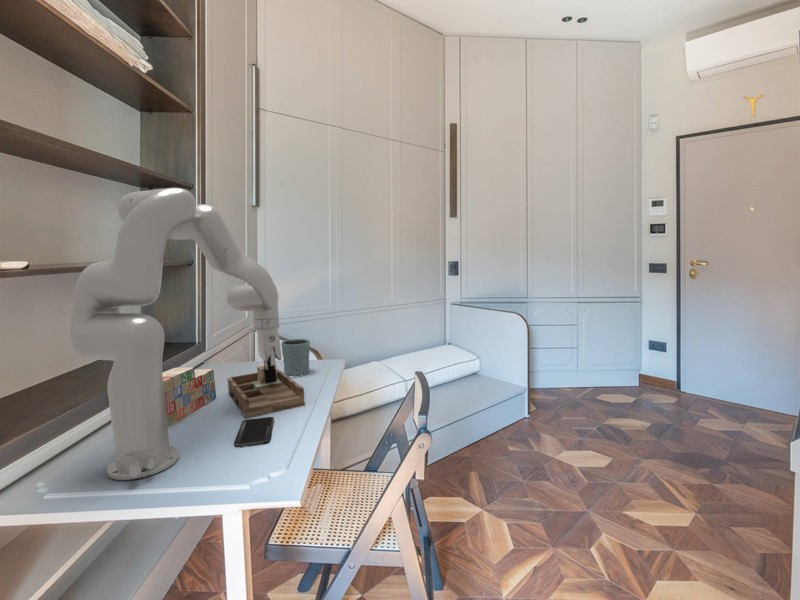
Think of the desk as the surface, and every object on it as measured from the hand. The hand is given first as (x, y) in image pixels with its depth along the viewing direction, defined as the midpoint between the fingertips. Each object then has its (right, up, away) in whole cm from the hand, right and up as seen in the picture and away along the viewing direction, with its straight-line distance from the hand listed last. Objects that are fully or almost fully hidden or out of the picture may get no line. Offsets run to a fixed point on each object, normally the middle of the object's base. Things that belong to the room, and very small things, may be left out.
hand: (270, 381), depth 130 cm
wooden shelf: (0, -4, -5) cm, 7 cm away
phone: (+6, -7, -29) cm, 31 cm away
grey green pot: (+3, -2, +22) cm, 22 cm away
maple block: (-2, -1, +4) cm, 5 cm away
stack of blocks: (-20, -6, -13) cm, 25 cm away
